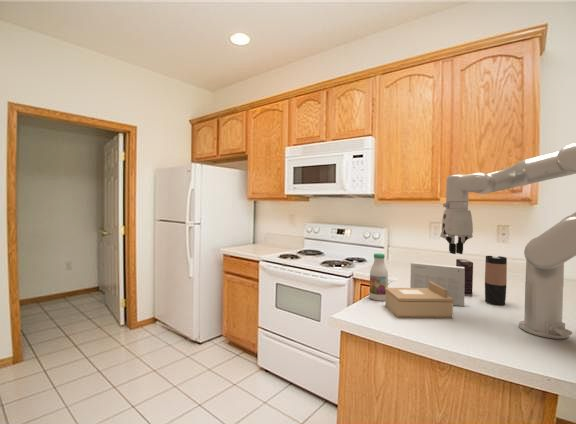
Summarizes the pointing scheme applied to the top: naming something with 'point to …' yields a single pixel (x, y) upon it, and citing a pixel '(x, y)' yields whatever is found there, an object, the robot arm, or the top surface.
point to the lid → (421, 293)
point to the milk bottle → (378, 278)
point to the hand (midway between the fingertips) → (455, 253)
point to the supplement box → (467, 275)
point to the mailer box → (419, 308)
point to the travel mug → (495, 280)
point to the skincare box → (440, 279)
